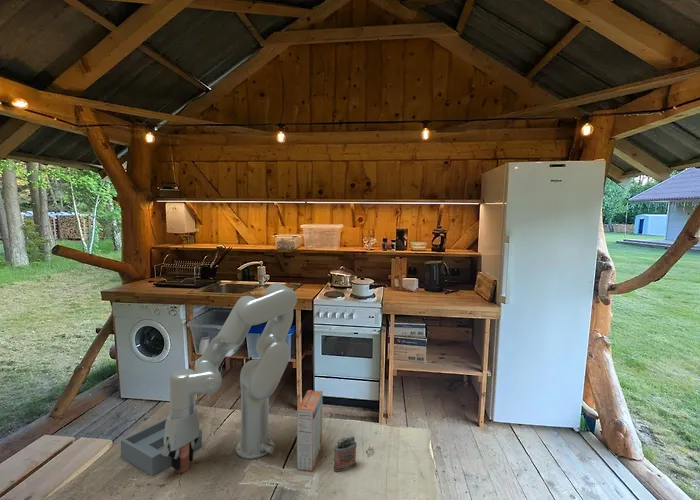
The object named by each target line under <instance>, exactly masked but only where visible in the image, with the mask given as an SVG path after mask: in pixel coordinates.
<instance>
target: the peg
mask: <svg viewBox="0 0 700 500" xmlns="http://www.w3.org/2000/svg"><path fill="white" fill-rule="evenodd" d="M178 457H180V469H179V470H176V469H175V472H176V473H177V474H183V473H186V472H188V471H189V469H190V461H189V443H187V444H186V445H184V446H182V447H181V448H180V449H179V455H178Z"/></svg>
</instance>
